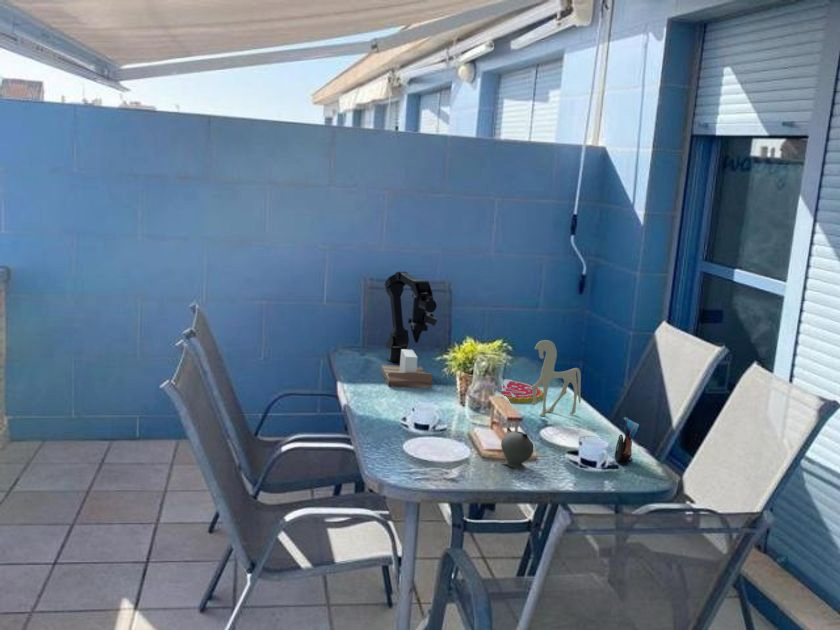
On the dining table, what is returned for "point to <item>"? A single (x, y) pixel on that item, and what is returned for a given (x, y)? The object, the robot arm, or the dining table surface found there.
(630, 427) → the figurine
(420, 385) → the trap deck
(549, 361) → the sculpture
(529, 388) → the decorative sign
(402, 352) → the light gray block
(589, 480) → the dining table surface
